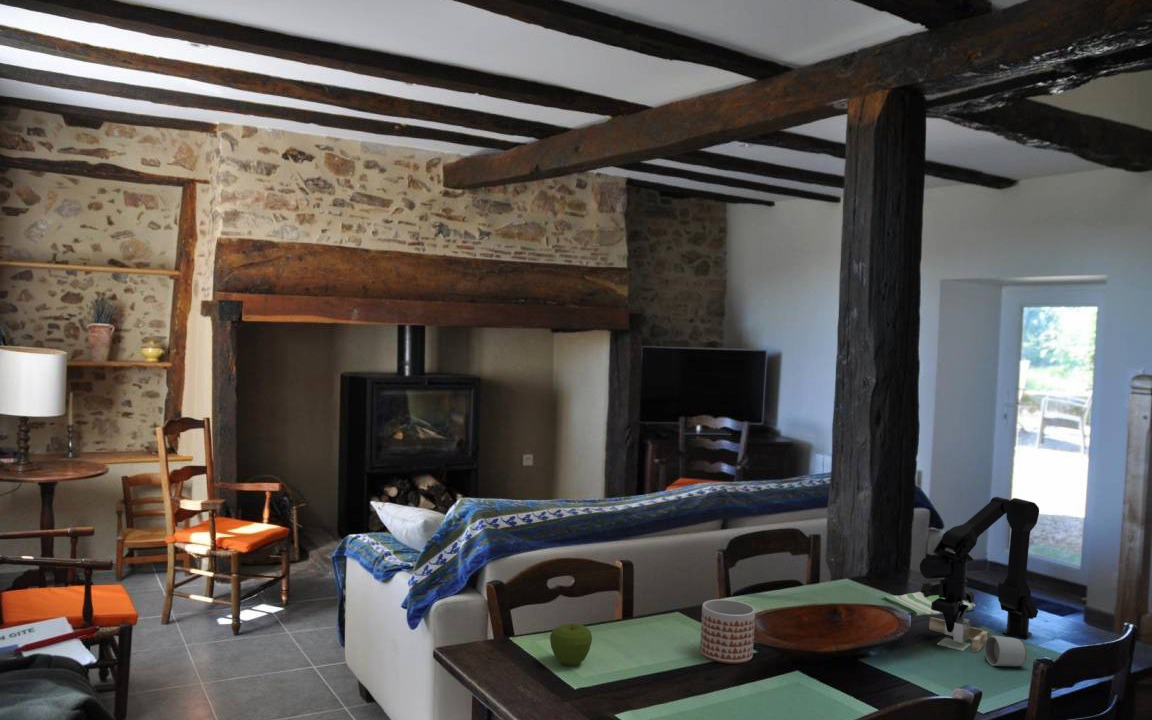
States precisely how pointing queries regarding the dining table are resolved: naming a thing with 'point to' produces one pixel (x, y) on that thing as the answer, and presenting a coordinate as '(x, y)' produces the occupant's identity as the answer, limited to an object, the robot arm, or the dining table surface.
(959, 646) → the pad
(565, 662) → the apple
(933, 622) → the corner arena
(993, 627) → the dining table surface
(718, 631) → the planter
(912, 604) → the dish towel
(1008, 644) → the ceramic mug
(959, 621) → the bracket
